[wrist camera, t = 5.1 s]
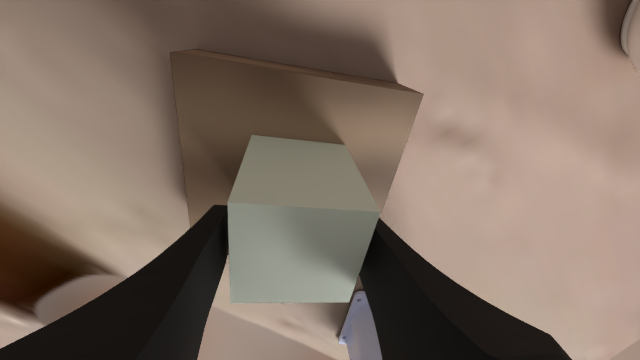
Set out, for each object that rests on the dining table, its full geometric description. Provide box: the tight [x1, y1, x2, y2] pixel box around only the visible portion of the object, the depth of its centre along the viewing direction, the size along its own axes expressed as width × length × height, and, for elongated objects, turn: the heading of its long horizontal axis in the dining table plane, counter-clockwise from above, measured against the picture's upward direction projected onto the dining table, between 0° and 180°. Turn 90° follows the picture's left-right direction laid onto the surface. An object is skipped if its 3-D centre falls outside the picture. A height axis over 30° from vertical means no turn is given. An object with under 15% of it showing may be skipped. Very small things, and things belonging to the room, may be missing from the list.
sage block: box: [227, 135, 380, 303], centre depth 12 cm, size 5×5×6 cm
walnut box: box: [170, 49, 424, 255], centre depth 16 cm, size 12×12×4 cm
